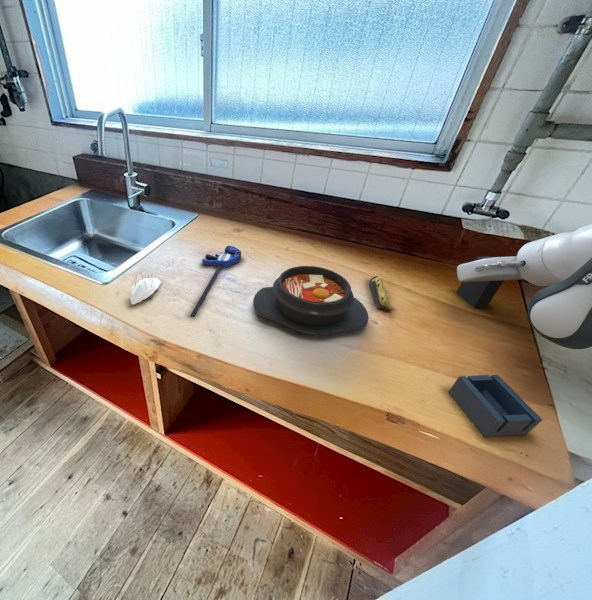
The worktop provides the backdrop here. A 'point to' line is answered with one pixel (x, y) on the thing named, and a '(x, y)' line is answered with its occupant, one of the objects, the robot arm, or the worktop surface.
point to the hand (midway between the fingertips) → (482, 276)
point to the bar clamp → (219, 267)
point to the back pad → (479, 290)
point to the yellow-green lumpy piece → (379, 293)
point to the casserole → (311, 302)
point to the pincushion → (143, 289)
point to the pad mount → (493, 406)
